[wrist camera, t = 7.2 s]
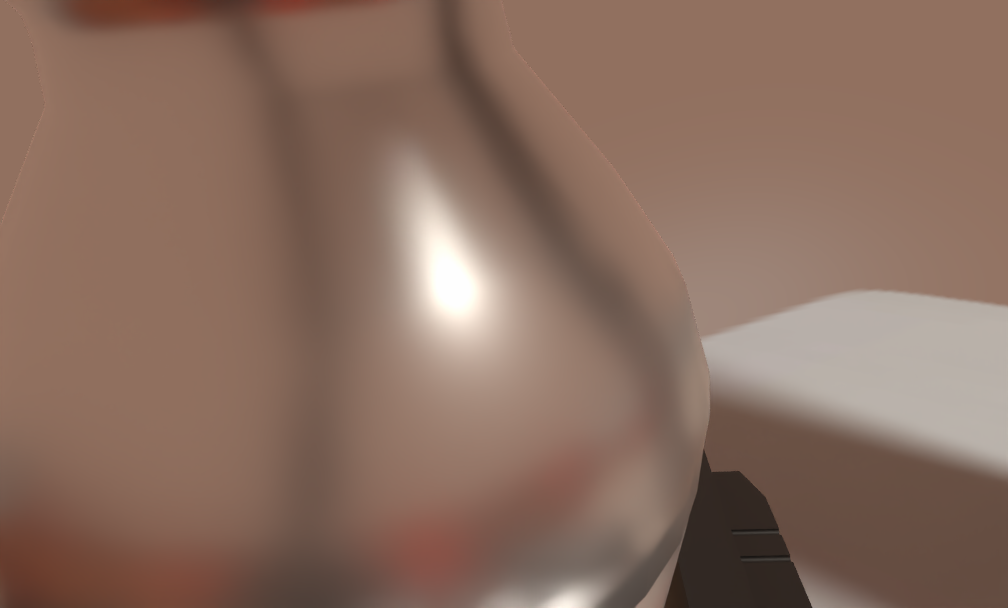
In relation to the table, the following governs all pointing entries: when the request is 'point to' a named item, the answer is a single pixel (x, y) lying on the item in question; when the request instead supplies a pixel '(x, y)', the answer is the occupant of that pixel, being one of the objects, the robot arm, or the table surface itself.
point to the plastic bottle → (331, 322)
